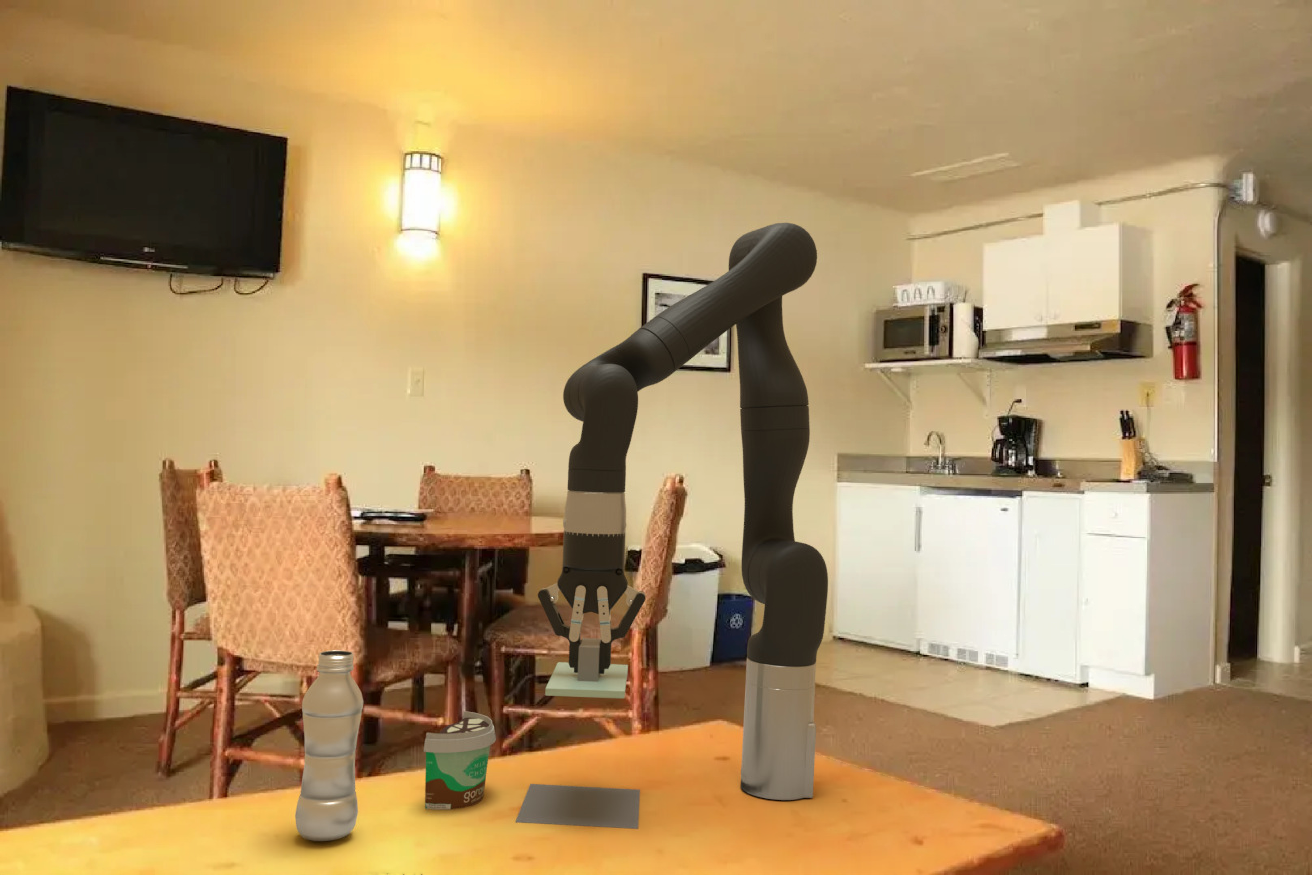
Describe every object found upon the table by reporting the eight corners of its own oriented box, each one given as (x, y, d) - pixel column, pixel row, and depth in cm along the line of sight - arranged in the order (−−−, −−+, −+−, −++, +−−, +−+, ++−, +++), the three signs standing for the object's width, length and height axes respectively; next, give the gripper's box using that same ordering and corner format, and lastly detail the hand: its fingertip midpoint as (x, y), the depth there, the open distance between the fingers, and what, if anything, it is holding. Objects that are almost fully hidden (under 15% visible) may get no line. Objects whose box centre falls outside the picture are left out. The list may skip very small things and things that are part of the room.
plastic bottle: (368, 832, 114) (379, 651, 114) (330, 853, 107) (342, 661, 108) (320, 822, 116) (331, 645, 116) (280, 842, 109) (291, 654, 110)
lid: (627, 671, 131) (629, 633, 131) (624, 698, 116) (625, 656, 116) (557, 668, 131) (559, 630, 131) (545, 695, 116) (546, 653, 116)
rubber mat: (639, 797, 130) (639, 789, 130) (637, 837, 116) (638, 828, 116) (529, 791, 130) (530, 783, 130) (514, 830, 116) (515, 821, 116)
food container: (469, 827, 117) (474, 739, 117) (419, 821, 118) (424, 733, 118) (506, 794, 129) (511, 714, 129) (460, 789, 130) (465, 710, 130)
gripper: (652, 529, 128) (646, 668, 128) (541, 524, 128) (535, 663, 128) (651, 533, 121) (646, 681, 120) (534, 528, 121) (528, 676, 120)
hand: (589, 671), depth 124 cm, fingers closed on lid, 2 cm apart
